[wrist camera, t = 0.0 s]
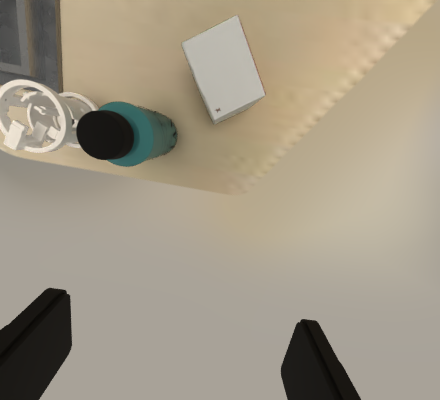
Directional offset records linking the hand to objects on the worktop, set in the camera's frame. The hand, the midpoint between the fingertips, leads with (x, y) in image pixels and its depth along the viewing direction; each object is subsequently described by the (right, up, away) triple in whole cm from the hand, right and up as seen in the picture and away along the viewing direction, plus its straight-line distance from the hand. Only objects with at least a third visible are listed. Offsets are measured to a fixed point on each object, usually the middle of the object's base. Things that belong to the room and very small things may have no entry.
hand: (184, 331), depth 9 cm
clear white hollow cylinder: (-18, +18, +27) cm, 37 cm away
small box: (+2, +23, +26) cm, 34 cm away
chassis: (-27, +29, +23) cm, 46 cm away
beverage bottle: (-9, +17, +27) cm, 33 cm away
